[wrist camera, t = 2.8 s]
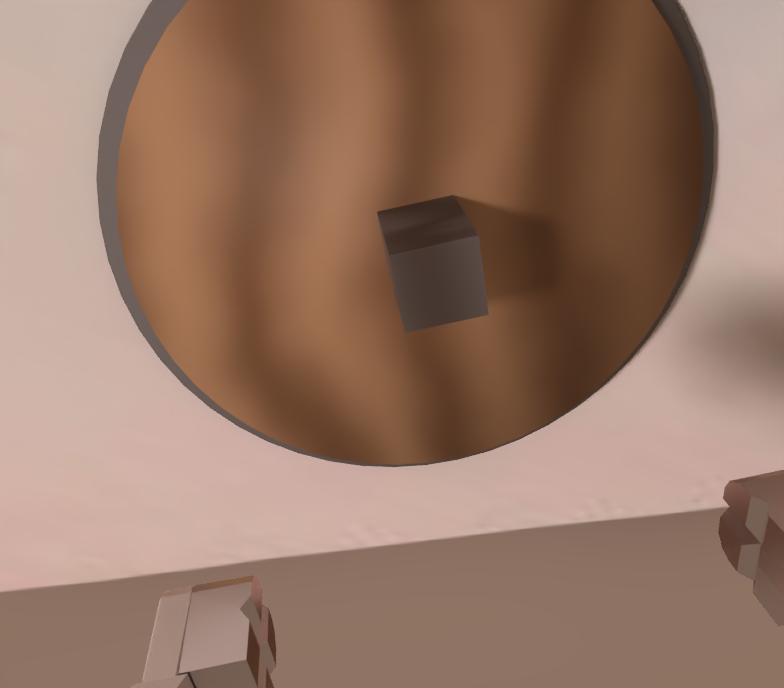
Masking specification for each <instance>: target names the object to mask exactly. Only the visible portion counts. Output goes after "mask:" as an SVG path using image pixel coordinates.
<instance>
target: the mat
mask: <svg viewBox="0 0 784 688" xmlns="http://www.w3.org/2000/svg"><path fill="white" fill-rule="evenodd" d="M187 1H188V0H152V2H151V3H150V4H149V6H148V7H147V9H146V11H145V13H144V15H143V17H142V18H141V20H140V22H139V24H138V26H137V27H136V29H135V31H134V33H133V35H132V36H131V38H130V40H129V42H128V44H127V45H126V47H125V50H124V52H123V55H122V58H121V60H120V63H119V66H118V68H117V71H116V74H115V76H114V79H113V82H112V84H111V87H110V90H109V93H108V98H107V103H106V107H105V112H104V117H103V121H102V126H101V131H100V135H99V149H98V164H97V192H98V205H99V218H100V224H101V229H102V233H103V238H104V243H105V247H106V252H107V256H108V261H109V263H110V266H111V269H112V271H113V274H114V277H115V280H116V282H117V285H118V288H119V291H120V293H121V296H122V298H123V300H124V302H125V304H126V306H127V307H128V309H129V311H130V313H131V315H132V317H133V319H134V321H135V323H136V325H137V326H138V328H139V330H140V331H141V333H142V334H143V336H144V337H145V339H146V340H147V341H148V343H149V344H150V346H151V347H152V348H153V350H154V351H155V353H156V354H157V356H158V357H159V358H160V360H161V361H162V362H163V363H164V364H165V365H166V366H167V367H168V368H169V370H170V371H171V372H172V373H173V374H174V375H175V376H176V377H177V378H178V379H179V380H180V382H181V383H182V384H183V385H184V386H185V387H187V388H188V389H189V390H190V391H191V392H192V393H194V394H195V395H196V396H197V397H198V398H199V399H201V400H202V401H203V402H204V403H205V404H206V405H208V406H209V407H210V408H211V409H213V410H214V411H216V412H217V413H219V414H220V415H222V416H223V417H225V418H226V419H228V420H229V421H231V422H232V423H234V424H235V425H237V426H238V427H240V428H242V429H244V430H246V431H248V432H250V433H252V434H254V435H256V436H258V437H260V438H262V439H264V440H266V441H268V442H270V443H273V444H276V445H278V446H281V447H284V448H286V449H289V450H292V451H294V452H297V453H300V454H304V455H308V456H312V457H316V458H320V459H324V460H328V461H333V462H340V463H347V464H354V465H361V466H383V467H401V466H416V465H428V464H434V463H440V462H446V461H452V460H458V459H462V458H465V457H469V456H473V455H476V454H480V453H484V452H487V451H490V450H493V449H496V448H498V447H501V446H503V445H506V444H509V443H511V442H514V441H516V440H519V439H521V438H523V437H525V436H527V435H529V434H531V433H533V432H535V431H537V430H539V429H541V428H543V427H545V426H547V425H549V424H550V423H552V422H554V421H555V420H557V419H558V418H560V417H561V416H563V415H565V414H566V413H568V412H569V411H571V410H572V409H574V408H576V407H577V406H578V405H580V404H581V403H582V402H583V401H585V400H586V399H587V398H589V397H590V396H591V395H592V394H594V393H595V392H596V391H597V390H599V389H600V388H601V387H603V386H604V385H605V384H606V383H607V382H608V381H609V380H610V379H611V378H612V377H613V376H614V375H615V374H616V373H617V372H618V371H619V370H620V369H621V368H622V367H623V366H624V365H625V364H626V363H627V362H628V361H629V360H630V359H631V358H632V356H633V355H634V354H635V353H636V352H637V350H638V349H639V348H640V347H641V346H642V345H643V343H644V342H645V341H646V340H647V339H648V337H649V336H650V335H651V333H652V332H653V330H654V329H655V327H656V326H657V324H658V323H659V321H660V320H661V318H662V317H663V315H664V314H665V312H666V311H667V309H668V308H669V306H670V304H671V302H672V301H673V299H674V297H675V295H676V293H677V291H678V289H679V287H680V285H681V283H682V281H683V280H684V278H685V276H686V273H687V271H688V268H689V266H690V263H691V260H692V258H693V255H694V253H695V250H696V248H697V245H698V242H699V239H700V235H701V231H702V227H703V224H704V220H705V216H706V212H707V208H708V203H709V196H710V188H711V180H712V172H713V122H712V114H711V107H710V99H709V92H708V86H707V83H706V79H705V75H704V72H703V68H702V65H701V61H700V57H699V54H698V50H697V47H696V45H695V43H694V40H693V38H692V36H691V34H690V31H689V29H688V27H687V25H686V22H685V20H684V18H683V16H682V13H681V11H680V9H679V7H678V6H677V4H676V3H675V1H674V0H652V2H653V3H654V5H655V7H656V8H657V10H658V11H659V13H660V14H661V16H662V17H663V19H664V20H665V22H666V23H667V25H668V26H669V28H670V30H671V32H672V34H673V36H674V38H675V40H676V43H677V45H678V47H679V49H680V51H681V54H682V56H683V58H684V60H685V62H686V64H687V67H688V71H689V74H690V78H691V81H692V85H693V88H694V92H695V95H696V98H697V102H698V108H699V115H700V122H701V129H702V136H703V185H702V193H701V201H700V209H699V215H698V219H697V223H696V227H695V231H694V235H693V239H692V243H691V247H690V250H689V253H688V255H687V258H686V260H685V263H684V266H683V268H682V271H681V274H680V276H679V279H678V281H677V283H676V285H675V287H674V289H673V291H672V293H671V295H670V297H669V298H668V300H667V302H666V304H665V306H664V308H663V310H662V312H661V313H660V315H659V316H658V318H657V319H656V321H655V322H654V324H653V325H652V327H651V328H650V330H649V331H648V333H647V334H646V336H645V337H644V339H643V340H642V341H641V342H640V343H639V345H638V346H637V347H636V348H635V349H634V351H633V352H632V353H631V354H630V355H629V357H628V358H627V359H626V360H625V361H624V363H623V364H622V365H621V366H620V367H619V368H618V369H617V370H616V371H615V372H614V373H613V374H612V375H610V376H609V377H608V378H607V379H606V380H605V381H604V382H603V383H602V384H601V385H600V386H599V387H598V388H597V389H595V390H594V391H593V392H592V393H590V394H589V395H588V396H587V397H585V398H584V399H583V400H581V401H580V402H579V403H578V404H576V405H575V406H574V407H572V408H571V409H569V410H568V411H566V412H565V413H563V414H561V415H560V416H558V417H557V418H555V419H553V420H552V421H550V422H549V423H547V424H545V425H543V426H541V427H539V428H537V429H535V430H533V431H531V432H530V433H528V434H526V435H524V436H522V437H520V438H517V439H515V440H512V441H510V442H507V443H504V444H502V445H499V446H497V447H494V448H491V449H489V450H485V451H481V452H478V453H474V454H470V455H467V456H463V457H459V458H453V459H448V460H442V461H436V462H430V463H416V464H401V465H393V464H367V463H360V462H353V461H346V460H339V459H334V458H330V457H326V456H322V455H318V454H314V453H310V452H307V451H304V450H301V449H298V448H296V447H293V446H291V445H288V444H285V443H283V442H280V441H277V440H275V439H273V438H271V437H269V436H267V435H265V434H263V433H262V432H260V431H258V430H256V429H254V428H252V427H250V426H248V425H247V424H245V423H244V422H242V421H241V420H239V419H238V418H236V417H235V416H233V415H232V414H230V413H229V412H227V411H226V410H224V409H223V408H221V407H220V406H219V405H218V404H217V403H215V402H214V401H213V400H212V399H211V398H210V397H209V396H207V395H206V394H205V393H204V392H203V391H202V390H200V389H199V388H198V387H197V386H196V385H195V384H194V383H193V382H192V381H191V379H190V378H189V377H188V376H187V375H186V374H185V373H184V372H183V371H182V370H181V368H180V367H179V366H178V365H177V364H176V363H175V362H174V360H173V359H172V358H171V356H170V355H169V353H168V352H167V350H166V349H165V347H164V346H163V345H162V343H161V342H160V340H159V339H158V337H157V336H156V335H155V333H154V331H153V329H152V327H151V325H150V323H149V322H148V320H147V318H146V316H145V314H144V312H143V310H142V308H141V306H140V304H139V302H138V300H137V297H136V294H135V291H134V288H133V286H132V283H131V280H130V277H129V274H128V271H127V269H126V265H125V260H124V255H123V250H122V246H121V241H120V236H119V231H118V219H117V203H116V180H117V168H118V156H119V147H120V143H121V138H122V134H123V130H124V125H125V121H126V117H127V112H128V108H129V105H130V103H131V100H132V97H133V95H134V92H135V90H136V87H137V85H138V82H139V80H140V77H141V74H142V72H143V69H144V67H145V65H146V63H147V61H148V60H149V58H150V56H151V54H152V53H153V51H154V49H155V47H156V46H157V44H158V42H159V40H160V39H161V37H162V35H163V33H164V32H165V30H166V28H167V27H168V25H169V24H170V23H171V22H172V20H173V19H174V18H175V17H176V15H177V14H178V13H179V11H180V10H181V9H182V8H183V6H184V5H185V4H186V3H187Z"/></svg>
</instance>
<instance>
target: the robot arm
mask: <svg viewBox="0 0 784 688" xmlns="http://www.w3.org/2000/svg"><path fill="white" fill-rule="evenodd" d="M723 499H724V500H725V501H726V503H727V504H728V505H729V506H730V507H729V508H728V509H727V510H726V511H725V512H724V514H723V515H722V516H721V517H720V523H719V536H720V540H721V544H722V548H723V550H724V552H725V554H726V556H727V558H728V560H729V562H730V563H731V564H732V566H733V567H734V568H735V569H736V571H737V572H739V573H740V574H742V575H744V576H746V577H748V578H750V579H752V580H754V585H753V593H754V595H755V596H756V598H757V599H758V600H759V602H760V603H761V604H762V605H763V607H764V608H765V609H766V611H767V612H768V613H769V614H770V616H771V617H772V619H774V621H775V622H776V624H777V625H778V626H781V625H784V470H780V471H775V472H770V473H765V474H761V475H756V476H751V477H746V478H741V479H737V480H732V481H729V483H728V484H727V485H726V487H725V490H724V496H723ZM275 667H276V643H275V631H274V626H273V621H272V617H271V614H270V611H269V608H268V607H266V606H264V605H263V604H262V588H261V585H260V582H259V579H258V577H257V576H248V577H242V578H236V579H231V580H225V581H219V582H213V583H207V584H201V585H196V586H192V587H187V588H181V589H175V590H169V591H165V592H164V594H163V596H162V597H161V599H160V601H159V606H158V610H157V615H156V620H155V624H154V629H153V633H152V638H151V642H150V647H149V652H148V657H147V661H146V665H145V670H144V674H143V680H142V683H138V684H134V685H132V686H131V687H130V688H274V686H273V683H272V681H271V678H270V674H271V673H272V671H273V670H274V668H275Z"/></svg>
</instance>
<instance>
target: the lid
mask: <svg viewBox="0 0 784 688" xmlns="http://www.w3.org/2000/svg"><path fill="white" fill-rule="evenodd" d="M702 185H703V136H702V129H701V122H700V115H699V108H698V102H697V98H696V95H695V92H694V88H693V85H692V81H691V78H690V74H689V71H688V67H687V64H686V62H685V60H684V58H683V56H682V54H681V51H680V49H679V47H678V45H677V43H676V40H675V38H674V36H673V34H672V32H671V30H670V28H669V26H668V25H667V23H666V22H665V20H664V19H663V17H662V16H661V14H660V13H659V11H658V10H657V8H656V7H655V5H654V3H653V2H652V0H188V1H187V3H186V4H185V5H184V6H183V8H182V9H181V10H180V11H179V13H178V14H177V15H176V17H175V18H174V19H173V20H172V22H171V23H170V24H169V25H168V27H167V28H166V30H165V32H164V33H163V35H162V37H161V39H160V40H159V42H158V44H157V46H156V47H155V49H154V51H153V53H152V54H151V56H150V58H149V60H148V61H147V63H146V65H145V67H144V69H143V72H142V74H141V77H140V80H139V82H138V85H137V87H136V90H135V92H134V95H133V97H132V100H131V103H130V105H129V108H128V112H127V117H126V121H125V125H124V130H123V134H122V138H121V143H120V147H119V156H118V168H117V180H116V203H117V219H118V231H119V236H120V241H121V246H122V250H123V255H124V260H125V265H126V269H127V271H128V274H129V277H130V280H131V283H132V286H133V288H134V291H135V294H136V297H137V300H138V302H139V304H140V306H141V308H142V310H143V312H144V314H145V316H146V318H147V320H148V322H149V323H150V325H151V327H152V329H153V331H154V333H155V335H156V336H157V337H158V339H159V340H160V342H161V343H162V345H163V346H164V347H165V349H166V350H167V352H168V353H169V355H170V356H171V358H172V359H173V360H174V362H175V363H176V364H177V365H178V366H179V367H180V368H181V370H182V371H183V372H184V373H185V374H186V375H187V376H188V377H189V378H190V379H191V381H192V382H193V383H194V384H195V385H196V386H197V387H198V388H199V389H200V390H202V391H203V392H204V393H205V394H206V395H207V396H209V397H210V398H211V399H212V400H213V401H214V402H215V403H217V404H218V405H219V406H220V407H221V408H223V409H224V410H226V411H227V412H229V413H230V414H232V415H233V416H235V417H236V418H238V419H239V420H241V421H242V422H244V423H245V424H247V425H248V426H250V427H252V428H254V429H256V430H258V431H260V432H262V433H263V434H265V435H267V436H269V437H271V438H273V439H275V440H277V441H280V442H283V443H285V444H288V445H291V446H293V447H296V448H298V449H301V450H304V451H307V452H310V453H314V454H318V455H322V456H326V457H330V458H334V459H339V460H346V461H353V462H360V463H367V464H393V465H401V464H416V463H430V462H436V461H442V460H448V459H453V458H459V457H463V456H467V455H470V454H474V453H478V452H481V451H485V450H489V449H491V448H494V447H497V446H499V445H502V444H504V443H507V442H510V441H512V440H515V439H517V438H520V437H522V436H524V435H526V434H528V433H530V432H531V431H533V430H535V429H537V428H539V427H541V426H543V425H545V424H547V423H549V422H550V421H552V420H553V419H555V418H557V417H558V416H560V415H561V414H563V413H565V412H566V411H568V410H569V409H571V408H572V407H574V406H575V405H576V404H578V403H579V402H580V401H581V400H583V399H584V398H585V397H587V396H588V395H589V394H590V393H592V392H593V391H594V390H595V389H597V388H598V387H599V386H600V385H601V384H602V383H603V382H604V381H605V380H606V379H607V378H608V377H609V376H610V375H612V374H613V373H614V372H615V371H616V370H617V369H618V368H619V367H620V366H621V365H622V364H623V363H624V361H625V360H626V359H627V358H628V357H629V355H630V354H631V353H632V352H633V351H634V349H635V348H636V347H637V346H638V345H639V343H640V342H641V341H642V340H643V339H644V337H645V336H646V334H647V333H648V331H649V330H650V328H651V327H652V325H653V324H654V322H655V321H656V319H657V318H658V316H659V315H660V313H661V312H662V310H663V308H664V306H665V304H666V302H667V300H668V298H669V297H670V295H671V293H672V291H673V289H674V287H675V285H676V283H677V281H678V279H679V276H680V274H681V271H682V268H683V266H684V263H685V260H686V258H687V255H688V253H689V250H690V247H691V243H692V239H693V235H694V231H695V227H696V223H697V219H698V215H699V209H700V201H701V193H702Z"/></svg>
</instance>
